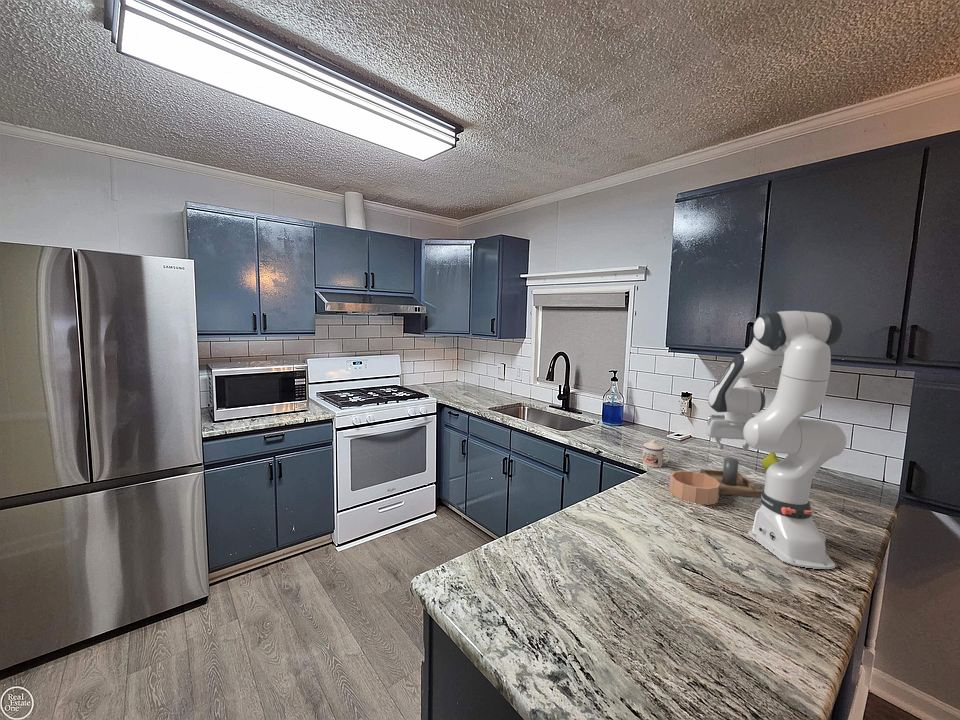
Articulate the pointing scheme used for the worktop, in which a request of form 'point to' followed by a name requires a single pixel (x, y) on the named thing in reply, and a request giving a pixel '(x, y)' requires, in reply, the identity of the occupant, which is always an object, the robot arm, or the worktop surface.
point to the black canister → (730, 471)
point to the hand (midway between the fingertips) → (732, 449)
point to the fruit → (769, 460)
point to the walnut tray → (740, 489)
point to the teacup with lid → (653, 454)
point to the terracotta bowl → (694, 487)
